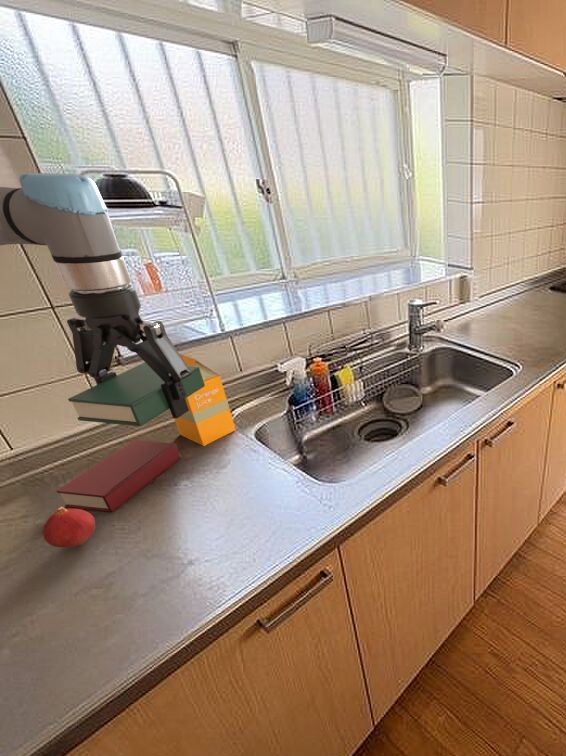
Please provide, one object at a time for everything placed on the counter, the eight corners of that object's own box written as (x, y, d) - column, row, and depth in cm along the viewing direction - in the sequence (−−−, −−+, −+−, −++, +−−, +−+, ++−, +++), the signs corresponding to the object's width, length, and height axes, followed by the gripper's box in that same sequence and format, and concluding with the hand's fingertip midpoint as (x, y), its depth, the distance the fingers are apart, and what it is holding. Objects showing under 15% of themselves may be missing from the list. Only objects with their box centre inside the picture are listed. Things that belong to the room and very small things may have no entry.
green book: (78, 420, 67) (67, 398, 65) (152, 381, 79) (144, 362, 78) (140, 426, 66) (131, 404, 65) (205, 386, 79) (199, 366, 77)
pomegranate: (47, 563, 66) (23, 526, 62) (64, 536, 71) (42, 500, 67) (95, 552, 68) (74, 516, 65) (108, 527, 73) (89, 492, 69)
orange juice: (203, 446, 94) (175, 366, 85) (179, 435, 97) (150, 356, 88) (236, 429, 101) (214, 353, 91) (213, 419, 104) (189, 344, 95)
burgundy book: (65, 507, 76) (56, 490, 74) (141, 454, 91) (135, 439, 89) (112, 512, 76) (103, 495, 74) (181, 458, 90) (175, 443, 88)
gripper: (192, 286, 66) (228, 406, 77) (55, 275, 67) (108, 395, 78) (153, 299, 60) (197, 428, 70) (1, 287, 61) (67, 416, 71)
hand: (150, 411), depth 74 cm, fingers closed on green book, 10 cm apart
